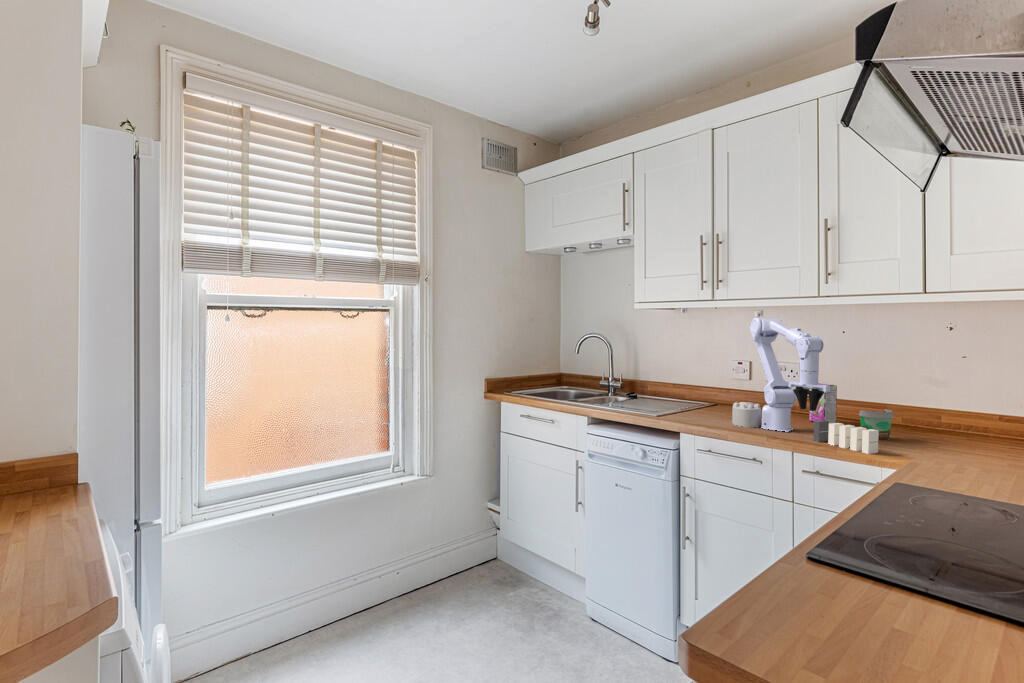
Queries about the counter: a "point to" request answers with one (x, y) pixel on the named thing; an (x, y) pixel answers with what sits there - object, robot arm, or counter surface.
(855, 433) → the domino
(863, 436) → the domino
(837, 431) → the domino
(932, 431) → the counter surface
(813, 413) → the candy bar box
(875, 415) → the food container
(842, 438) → the domino
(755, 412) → the lumpy-topped squat cylinder
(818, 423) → the black domino
